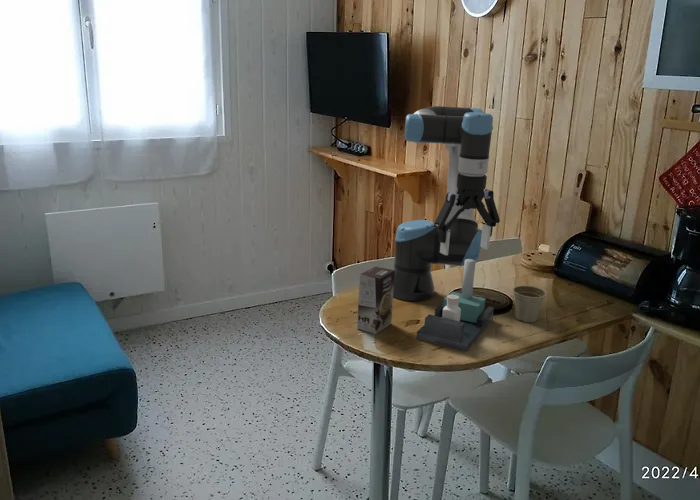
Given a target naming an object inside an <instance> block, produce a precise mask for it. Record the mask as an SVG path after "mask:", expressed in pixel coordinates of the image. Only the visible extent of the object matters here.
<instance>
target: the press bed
mask: <svg viewBox="0 0 700 500" xmlns="http://www.w3.org/2000/svg"><path fill="white" fill-rule="evenodd" d="M494 310H495V307H493V306H488V307H487V308H486V309H484V312H483V313H482V314H481V316H480V317H479V318H478V319H477V323H473V322H469V321H465V320H460V321H455V320H451V319H447V318H443V317H442V313H443V302H441V303H440V304H439V305H438V306H437V307H436V308H434V315H433V314H428V315H427V316H426V317H424V325H422V327H420V328H419V329H418V330H417V331H416V336H415V339H417V340H419V341H423V342H424V341H425V342H428V343H432V344H435V345H439V346H443V347H446V348H451V349H455V350H458V351H462V352H466V353H467V351H469V349H470V348H471V347H472V346H473V345H474V343H475V342H476V341H477V340H478V339H479V337H480V336H481V335H482V334H483V333H484V331H485V330H486V329H487V328H488V326H490V325H491V323H492V322H493V319H494Z"/></svg>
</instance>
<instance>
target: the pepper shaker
mask: <svg viewBox="0 0 700 500" xmlns="http://www.w3.org/2000/svg"><path fill="white" fill-rule="evenodd" d="M446 297H447V306H445V307H444V308H443V314H442V317H443V318H447V319H451V320H455V321H460V314H461V309H460V308H459V307H458V304H459V296H457V295H449V294H447V296H446Z"/></svg>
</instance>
